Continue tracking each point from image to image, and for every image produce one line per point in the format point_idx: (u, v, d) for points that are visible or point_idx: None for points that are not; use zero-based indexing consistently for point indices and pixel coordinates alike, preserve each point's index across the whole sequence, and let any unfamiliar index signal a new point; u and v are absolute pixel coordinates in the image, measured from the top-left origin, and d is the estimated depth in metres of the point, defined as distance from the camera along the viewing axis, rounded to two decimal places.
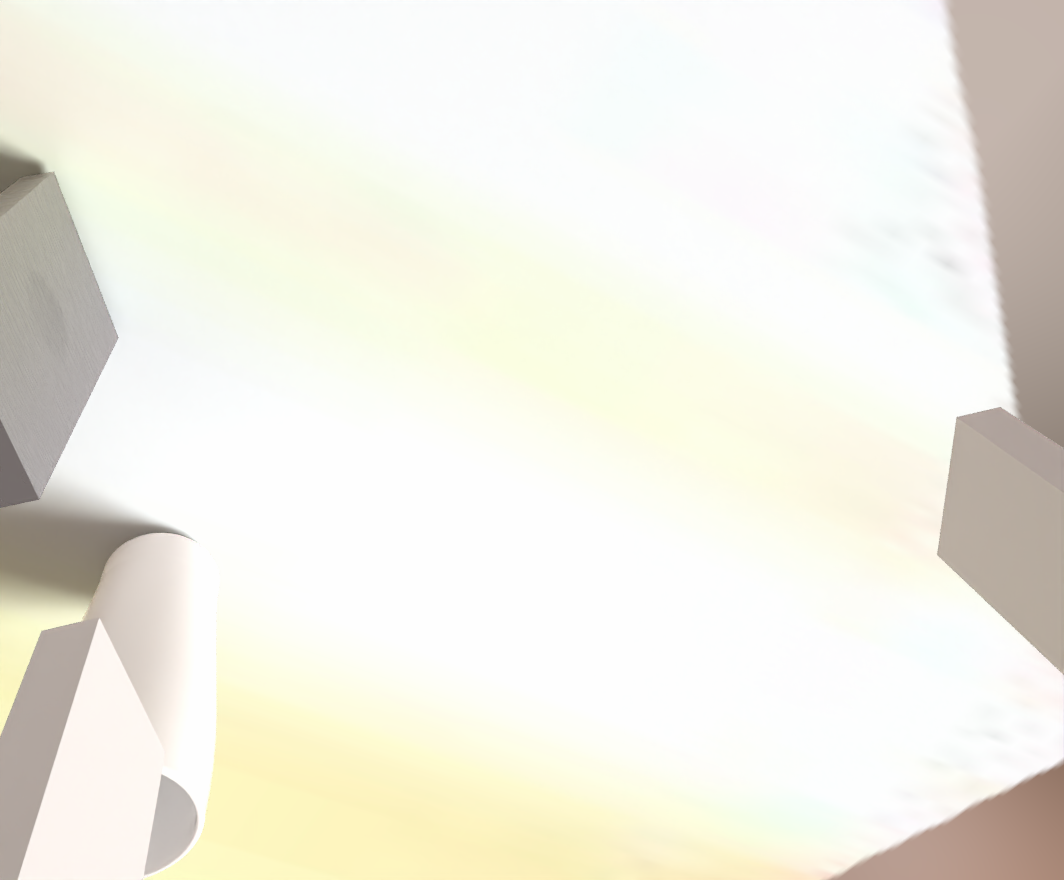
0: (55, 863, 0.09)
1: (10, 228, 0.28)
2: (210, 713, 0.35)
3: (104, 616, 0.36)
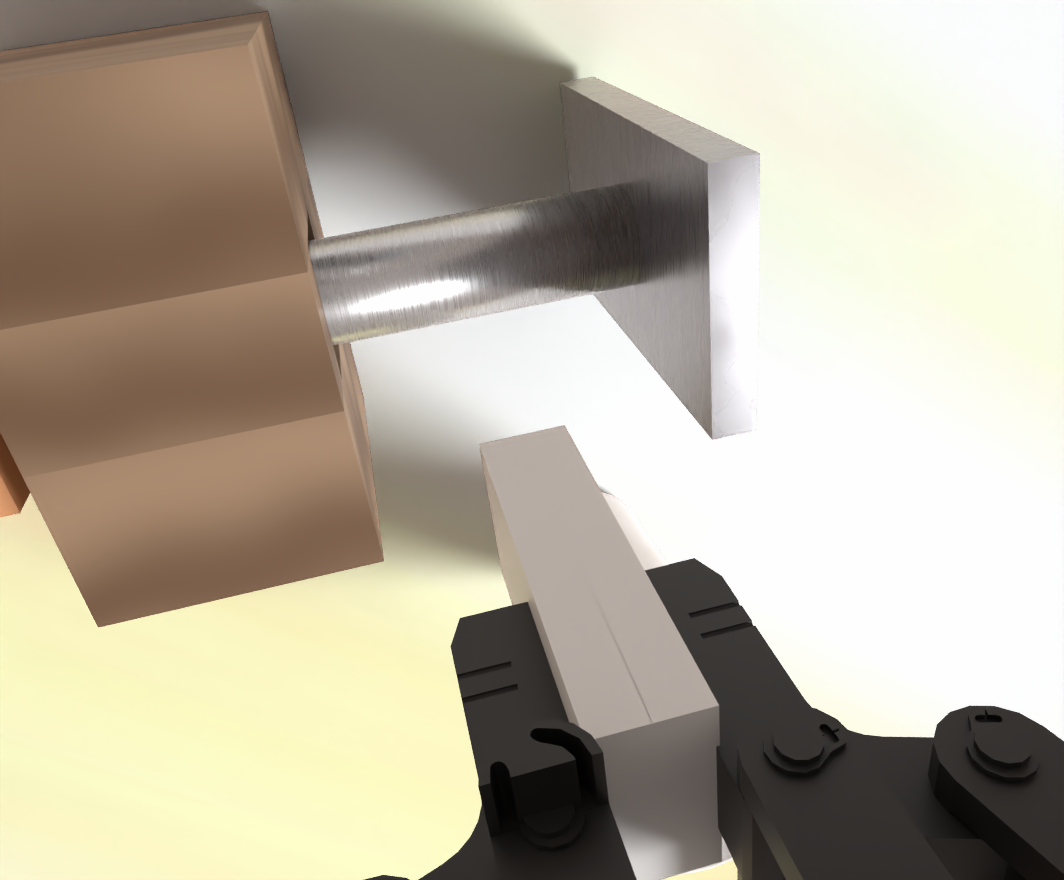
0: None
1: None
2: None
3: None
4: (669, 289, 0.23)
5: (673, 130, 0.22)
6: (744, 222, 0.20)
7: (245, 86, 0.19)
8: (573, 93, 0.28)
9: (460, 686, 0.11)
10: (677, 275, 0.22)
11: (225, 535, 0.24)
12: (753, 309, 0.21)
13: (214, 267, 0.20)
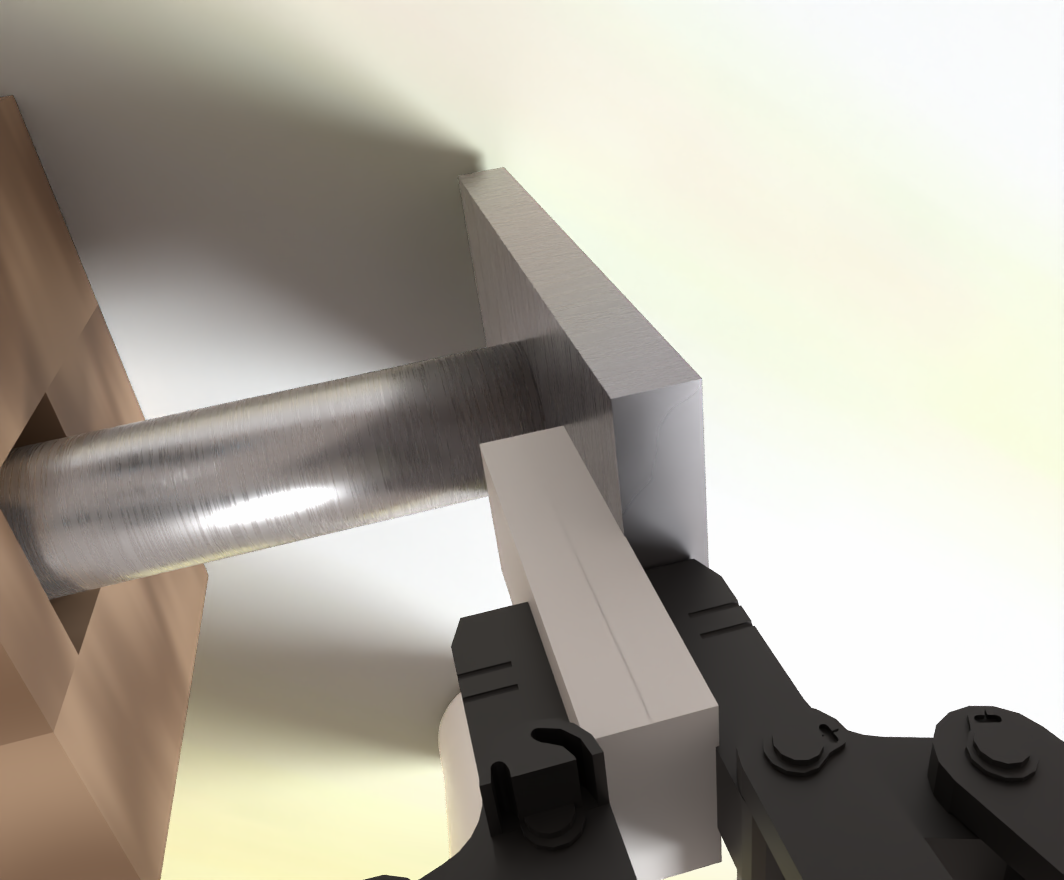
0: None
1: None
2: None
3: None
4: None
5: (577, 299, 0.14)
6: (680, 480, 0.12)
7: None
8: (469, 196, 0.21)
9: (460, 686, 0.11)
10: None
11: None
12: None
13: None
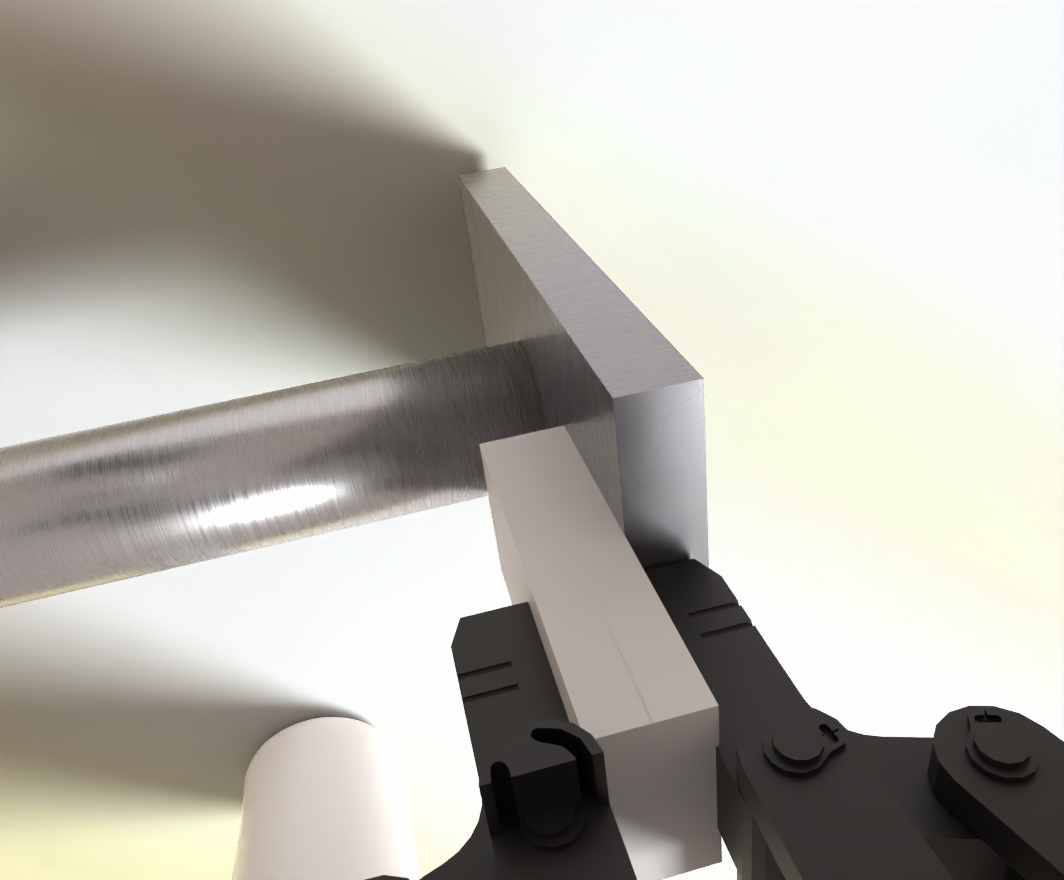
0: None
1: None
2: None
3: None
4: None
5: (578, 298, 0.14)
6: (681, 480, 0.12)
7: None
8: (470, 196, 0.21)
9: (460, 686, 0.11)
10: None
11: None
12: None
13: None
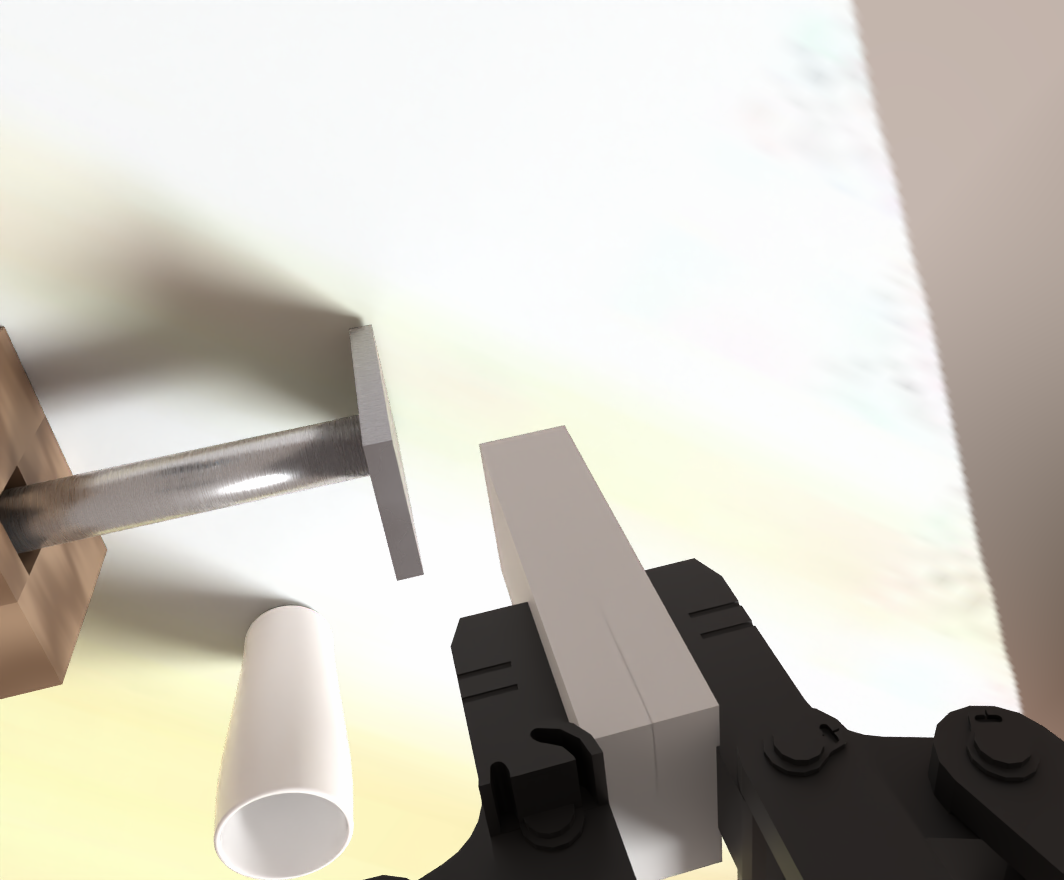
0: None
1: (382, 383, 0.41)
2: (348, 752, 0.47)
3: (263, 677, 0.48)
4: None
5: (369, 406, 0.38)
6: (390, 472, 0.36)
7: None
8: None
9: (460, 686, 0.11)
10: None
11: None
12: (406, 513, 0.37)
13: None
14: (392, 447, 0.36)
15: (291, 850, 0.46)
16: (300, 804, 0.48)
